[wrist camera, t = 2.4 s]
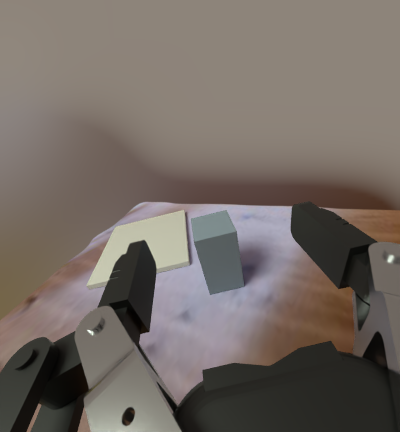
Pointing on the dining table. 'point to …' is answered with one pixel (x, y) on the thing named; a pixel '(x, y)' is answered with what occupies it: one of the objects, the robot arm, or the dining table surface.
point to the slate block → (218, 251)
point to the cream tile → (157, 242)
